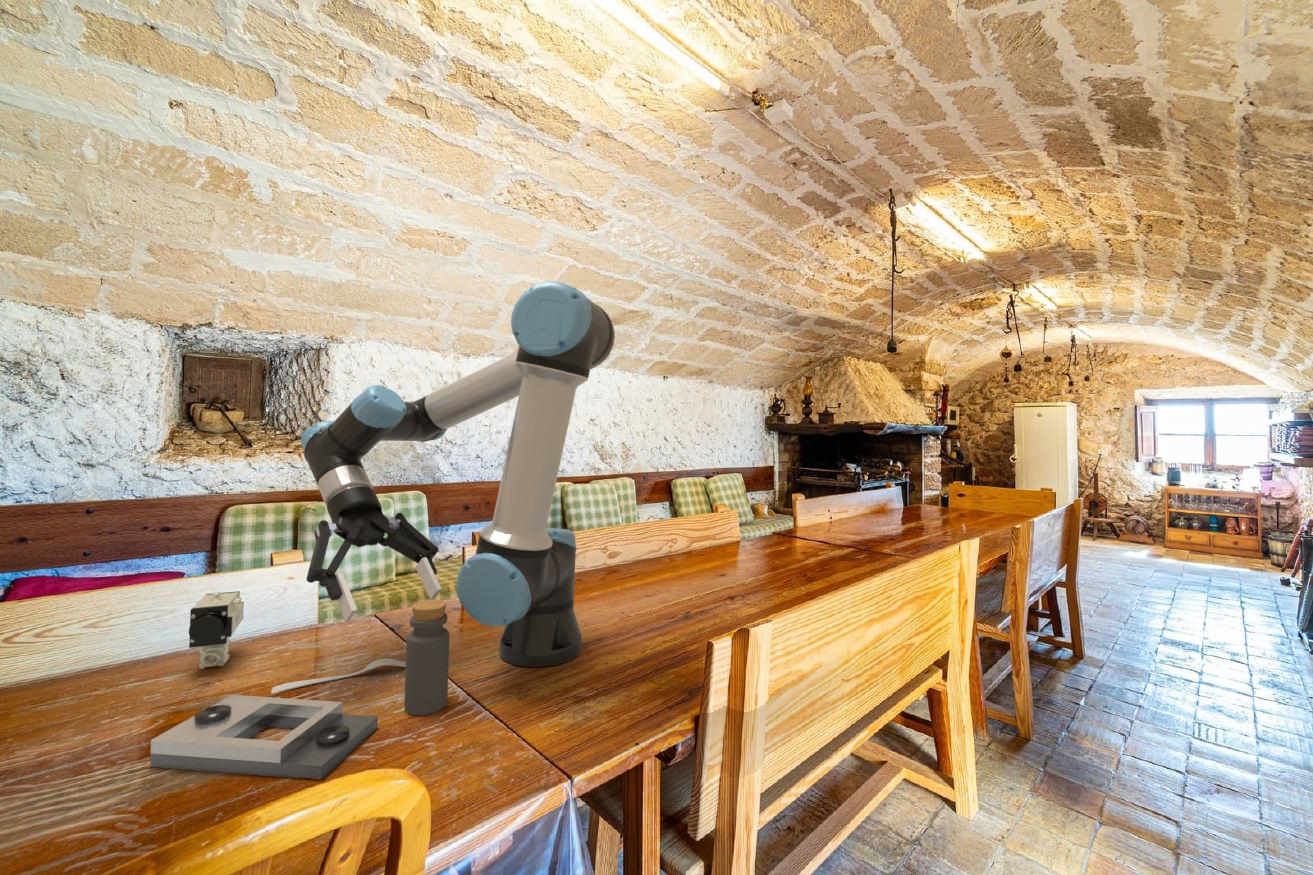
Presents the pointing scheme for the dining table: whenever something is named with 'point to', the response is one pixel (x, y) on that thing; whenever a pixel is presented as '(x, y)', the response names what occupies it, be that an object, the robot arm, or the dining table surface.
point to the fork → (313, 681)
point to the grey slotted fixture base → (226, 745)
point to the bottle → (427, 659)
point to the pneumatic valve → (215, 626)
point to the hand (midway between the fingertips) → (396, 604)
